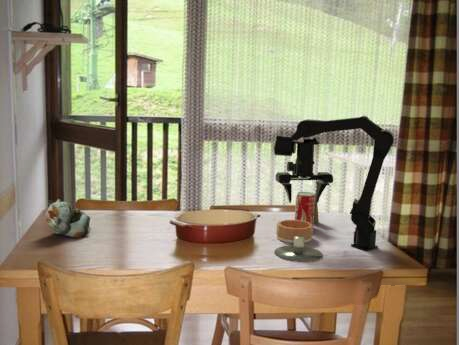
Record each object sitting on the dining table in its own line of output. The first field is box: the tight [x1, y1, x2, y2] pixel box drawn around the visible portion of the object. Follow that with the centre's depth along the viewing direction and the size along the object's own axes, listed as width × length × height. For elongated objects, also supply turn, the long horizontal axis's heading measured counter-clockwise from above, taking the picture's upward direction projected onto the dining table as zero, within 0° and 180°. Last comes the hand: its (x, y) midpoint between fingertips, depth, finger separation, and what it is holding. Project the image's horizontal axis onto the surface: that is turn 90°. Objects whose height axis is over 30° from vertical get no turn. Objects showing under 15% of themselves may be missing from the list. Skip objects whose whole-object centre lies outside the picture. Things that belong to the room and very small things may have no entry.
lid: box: [274, 236, 323, 263], centre depth 166 cm, size 15×15×6 cm
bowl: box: [275, 219, 314, 244], centre depth 183 cm, size 12×12×5 cm
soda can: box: [294, 191, 315, 227], centre depth 196 cm, size 7×7×13 cm
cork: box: [314, 193, 320, 225], centre depth 205 cm, size 6×6×11 cm
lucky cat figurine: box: [45, 198, 92, 239], centre depth 179 cm, size 15×12×14 cm
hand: (303, 202), depth 180 cm, fingers open, 9 cm apart
